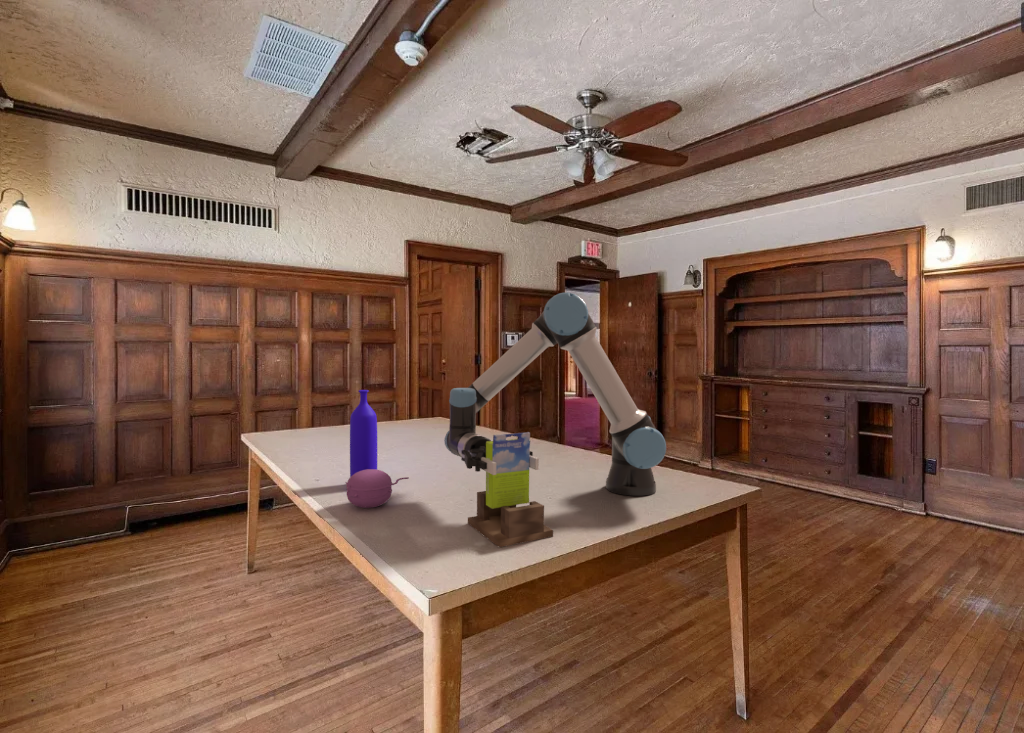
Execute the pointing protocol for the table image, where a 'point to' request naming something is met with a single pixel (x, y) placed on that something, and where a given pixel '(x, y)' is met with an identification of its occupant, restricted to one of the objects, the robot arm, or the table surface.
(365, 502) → the pink toy mouse
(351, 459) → the bottle
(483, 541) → the table surface
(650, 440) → the robot arm
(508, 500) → the box
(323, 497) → the table surface
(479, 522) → the slot stand
